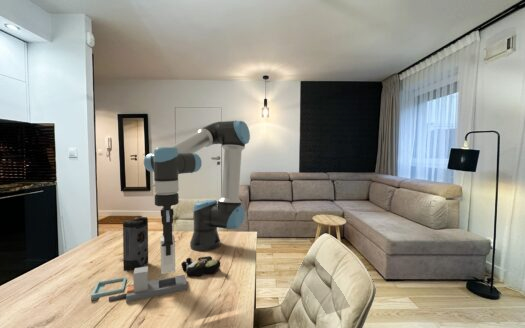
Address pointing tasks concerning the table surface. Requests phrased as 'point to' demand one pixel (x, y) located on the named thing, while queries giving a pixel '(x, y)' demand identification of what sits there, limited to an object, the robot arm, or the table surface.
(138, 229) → the electronic device
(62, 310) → the table surface
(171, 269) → the charger
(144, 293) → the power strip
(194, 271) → the toy
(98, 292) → the tray
